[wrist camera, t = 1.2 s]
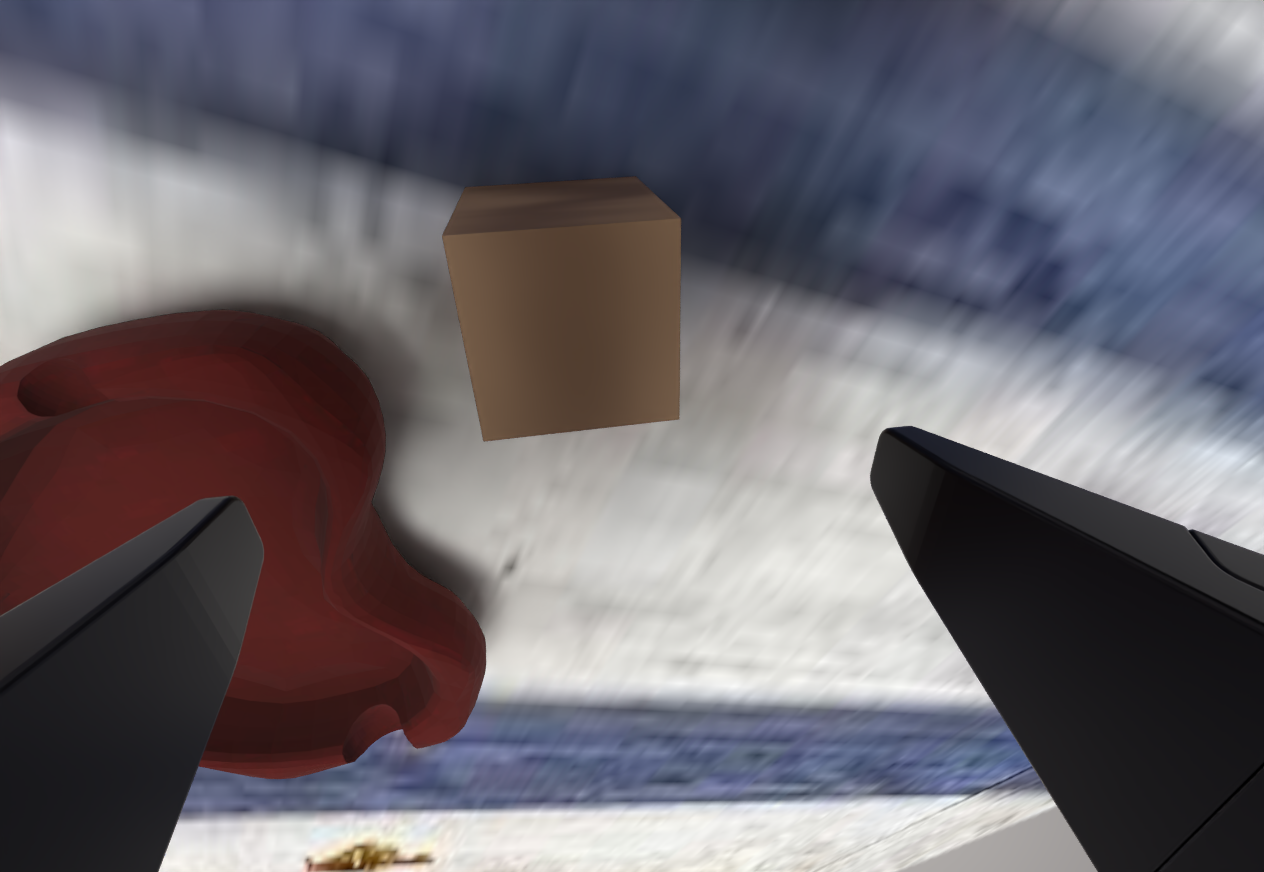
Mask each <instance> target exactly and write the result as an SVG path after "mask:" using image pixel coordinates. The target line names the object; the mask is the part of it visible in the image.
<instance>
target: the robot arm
mask: <svg viewBox="0 0 1264 872" xmlns="http://www.w3.org/2000/svg"><path fill="white" fill-rule="evenodd" d="M870 481H871V486H872V489H873V492H874V494H875V496H876V498H877V500H878V502H879V504H880V506H881V508H882V511H883V513H884V515H885V517H886V519H887V521H888V523H889V525H890V527H891V529H892V531H893V533H894V536H895V538H896V540H897V542H898V544H899V546H900V548H901V550H902V552H903V554H904V556H905V559H906V560H907V562H908V564H909V566H910V568H911V570H912V572H913V574H914V575H915V577H916V579H917V581H918V582H919V584H920V586H921V587H922V589H923V591H924V592H925V594H926V595H927V597H928V599H929V600H930V602H931V603H932V605H933V607H934V608H935V610H936V612H937V613H938V615H939V616H940V618H941V620H942V621H943V623H944V624H945V626H946V628H947V629H948V631H949V633H950V634H951V636H952V637H953V639H954V641H955V642H956V644H957V645H958V647H959V649H960V650H961V652H962V653H963V655H964V657H965V658H966V660H967V662H968V663H969V665H970V666H971V668H972V670H973V671H974V673H975V674H976V676H977V678H978V679H979V681H980V683H981V684H982V686H983V687H984V689H985V691H986V692H987V694H988V695H989V697H990V699H991V700H992V702H993V704H994V705H995V707H996V708H997V710H998V712H999V713H1000V715H1001V716H1002V718H1003V720H1004V721H1005V723H1006V725H1007V726H1008V728H1009V729H1010V731H1011V733H1012V734H1013V736H1014V737H1015V739H1016V741H1017V742H1018V744H1019V745H1020V747H1021V749H1022V750H1023V752H1024V754H1025V755H1026V757H1027V758H1028V760H1029V762H1030V763H1031V765H1032V766H1033V768H1034V770H1035V771H1036V773H1037V775H1038V776H1039V778H1040V779H1041V781H1042V783H1043V784H1044V786H1045V787H1046V789H1047V791H1048V792H1049V794H1050V796H1051V797H1052V799H1053V800H1054V802H1055V804H1056V805H1057V807H1058V808H1059V810H1060V812H1061V813H1062V815H1063V816H1064V818H1065V820H1066V821H1067V823H1068V824H1069V826H1070V828H1071V829H1072V831H1073V832H1074V834H1075V836H1076V837H1077V839H1078V840H1079V842H1080V844H1081V846H1082V847H1083V849H1084V850H1085V852H1086V854H1087V855H1088V857H1089V858H1090V860H1091V862H1092V863H1093V865H1094V867H1095V868H1096V870H1097V871H1098V872H1264V555H1262V554H1260V553H1257V552H1254V551H1251V550H1248V549H1246V548H1243V547H1240V546H1237V545H1234V544H1232V543H1229V542H1226V541H1223V540H1221V539H1218V538H1215V537H1213V536H1210V535H1207V534H1204V533H1202V532H1199V531H1196V530H1187V528H1186V527H1184V526H1182V525H1180V524H1177V523H1174V522H1172V521H1169V520H1166V519H1163V518H1161V517H1158V516H1155V515H1153V514H1150V513H1147V512H1144V511H1142V510H1139V509H1136V508H1134V507H1131V506H1128V505H1125V504H1123V503H1120V502H1117V501H1115V500H1112V499H1109V498H1106V497H1104V496H1101V495H1098V494H1096V493H1093V492H1090V491H1087V490H1085V489H1082V488H1079V487H1077V486H1074V485H1071V484H1068V483H1066V482H1063V481H1060V480H1058V479H1055V478H1052V477H1049V476H1047V475H1044V474H1041V473H1039V472H1036V471H1033V470H1030V469H1028V468H1025V467H1022V466H1020V465H1017V464H1014V463H1011V462H1009V461H1006V460H1003V459H1001V458H998V457H995V456H992V455H990V454H987V453H984V452H982V451H979V450H976V449H973V448H971V447H968V446H965V445H963V444H960V443H957V442H954V441H952V440H949V439H946V438H944V437H941V436H938V435H935V434H933V433H930V432H927V431H925V430H922V429H919V428H916V427H913V426H902V427H893V428H887V429H885V430H884V431H882V433H881V434H880V437H879V440H878V444H877V448H876V452H875V456H874V460H873V464H872V468H871V473H870ZM263 559H264V547H263V543H262V540H261V538H260V536H259V534H258V532H257V529H256V527H255V525H254V523H253V521H252V519H251V517H250V514H249V512H248V510H247V508H246V506H245V504H244V503H243V501H242V500H241V499H240V498H238V497H236V496H221V497H211V498H204V499H200V500H198V501H196V502H194V503H193V504H191V505H189V506H188V507H186V508H184V509H182V510H181V511H179V512H177V513H176V514H174V515H172V516H170V517H169V518H167V519H165V520H164V521H162V522H160V523H159V524H157V525H155V526H153V527H152V528H150V529H148V530H147V531H145V532H143V533H141V534H140V535H138V536H136V537H135V538H133V539H131V540H129V541H128V542H126V543H124V544H123V545H121V546H119V547H117V548H116V549H114V550H112V551H111V552H109V553H107V554H105V555H104V556H102V557H100V558H99V559H97V560H95V561H93V562H92V563H90V564H88V565H87V566H85V567H83V568H82V569H80V570H78V571H76V572H75V573H73V574H71V575H70V576H68V577H66V578H64V579H63V580H61V581H59V582H58V583H56V584H54V585H52V586H51V587H49V588H47V589H46V590H44V591H42V592H40V593H39V594H37V595H35V596H34V597H32V598H30V599H28V600H27V601H25V602H23V603H22V604H20V605H18V606H17V607H15V608H13V609H11V610H10V611H8V612H6V613H5V614H3V615H1V616H0V872H158V871H159V869H160V866H161V864H162V861H163V858H164V856H165V853H166V850H167V848H168V845H169V842H170V840H171V837H172V834H173V832H174V829H175V827H176V824H177V821H178V819H179V816H180V813H181V811H182V808H183V805H184V803H185V800H186V798H187V795H188V792H189V790H190V787H191V784H192V782H193V779H194V776H195V774H196V771H197V769H198V766H199V763H200V761H201V758H202V755H203V753H204V750H205V747H206V745H207V742H208V740H209V737H210V734H211V732H212V729H213V726H214V724H215V721H216V718H217V716H218V713H219V711H220V708H221V705H222V703H223V700H224V697H225V695H226V692H227V689H228V687H229V684H230V682H231V679H232V676H233V673H234V670H235V667H236V664H237V661H238V658H239V654H240V651H241V647H242V644H243V640H244V636H245V632H246V628H247V624H248V620H249V616H250V612H251V608H252V604H253V600H254V596H255V592H256V588H257V584H258V580H259V576H260V572H261V568H262V564H263Z"/></svg>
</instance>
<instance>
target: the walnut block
mask: <svg viewBox="0 0 1264 872" xmlns="http://www.w3.org/2000/svg"><path fill="white" fill-rule="evenodd" d="M442 238H443V243H444V248H445V253H446V258H447V263H448V268H449V273H450V278H451V283H452V288H453V293H454V298H455V303H456V307H457V312H458V317H459V322H460V327H461V332H462V337H463V342H464V347H465V352H466V357H467V362H468V367H469V372H470V377H471V382H472V387H473V392H474V397H475V401H476V406H477V411H478V416H479V421H480V426H481V431H482V436H483V441H492V440H501V439H510V438H519V437H528V436H536V435H545V434H554V433H563V432H572V431H581V430H589V429H598V428H607V427H616V426H625V425H634V424H642V423H651V422H660V421H669V420H678V419H679V398H680V281H681V218H680V217H679V216H678V215H677V214H676V213H675V212H674V211H672V210H671V209H670V208H669V207H668V206H667V205H666V204H665V203H664V202H663V201H662V200H661V199H660V198H658V197H657V196H656V195H655V194H654V193H653V192H652V191H651V190H650V189H649V188H648V187H647V186H646V185H644V184H643V183H642V182H641V181H640V180H639V179H638V178H637V177H636V176H633V177H617V178H602V179H586V180H571V181H555V182H539V183H524V184H508V185H492V186H477V187H465V189H464V191H463V193H462V195H461V197H460V199H459V201H458V203H457V206H456V208H455V210H454V212H453V214H452V216H451V218H450V220H449V222H448V224H447V226H446V229H445V231H444V233H443V235H442Z"/></svg>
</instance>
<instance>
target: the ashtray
mask: <svg viewBox="0 0 1264 872" xmlns="http://www.w3.org/2000/svg"><path fill="white" fill-rule="evenodd" d="M385 447H386V433H385V427H384V420H383V416H382V412H381V408H380V404H379V401H378V399H377V396H376V394H375V392H374V390H373V387H372V385H371V383H370V381H369V379H368V377H367V376H366V375H365V373H364V372H363V371H362V370H361V369H360V368H359V366H358V365H357V364H356V363H355V362H353V361H352V360H351V359H350V358H349V357H348V356H347V355H346V354H345V353H344V352H343V351H342V350H341V349H340V348H339V347H338V346H337V345H336V344H335V343H334V342H333V341H331V340H330V339H329V338H327V337H326V336H325V335H323V334H322V333H321V332H319V331H317V330H315V329H312V328H309V327H307V326H304V325H302V324H298V323H294V322H290V321H286V320H282V319H278V318H274V317H269V316H265V315H261V314H256V313H252V312H242V311H233V310H209V311H197V312H185V313H174V314H168V315H162V316H156V317H150V318H144V319H138V320H133V321H128V322H123V323H118V324H114V325H109V326H104V327H99V328H95V329H92V330H88V331H85V332H81V333H78V334H74V335H71V336H67V337H63V338H61V339H59V340H57V341H54V342H52V343H50V344H48V345H45V346H43V347H41V348H39V349H36V350H34V351H32V352H29V353H27V354H25V355H22V356H20V357H18V358H16V359H13V360H11V361H9V362H7V363H5V364H4V365H2V366H0V616H1V615H3V614H5V613H6V612H8V611H10V610H11V609H13V608H15V607H17V606H18V605H20V604H22V603H23V602H25V601H27V600H28V599H30V598H32V597H34V596H35V595H37V594H39V593H40V592H42V591H44V590H46V589H47V588H49V587H51V586H52V585H54V584H56V583H58V582H59V581H61V580H63V579H64V578H66V577H68V576H70V575H71V574H73V573H75V572H76V571H78V570H80V569H82V568H83V567H85V566H87V565H88V564H90V563H92V562H93V561H95V560H97V559H99V558H100V557H102V556H104V555H105V554H107V553H109V552H111V551H112V550H114V549H116V548H117V547H119V546H121V545H123V544H124V543H126V542H128V541H129V540H131V539H133V538H135V537H136V536H138V535H140V534H141V533H143V532H145V531H147V530H148V529H150V528H152V527H153V526H155V525H157V524H159V523H160V522H162V521H164V520H165V519H167V518H169V517H170V516H172V515H174V514H176V513H177V512H179V511H181V510H182V509H184V508H186V507H188V506H189V505H191V504H193V503H194V502H196V501H198V500H200V499H204V498H211V497H221V496H236V497H238V498H240V499H241V500H242V501H243V503H244V504H245V506H246V508H247V510H248V512H249V514H250V517H251V519H252V521H253V523H254V525H255V527H256V529H257V532H258V534H259V536H260V538H261V540H262V543H263V547H264V559H263V564H262V568H261V572H260V576H259V580H258V584H257V588H256V592H255V596H254V600H253V604H252V608H251V612H250V616H249V620H248V624H247V628H246V632H245V636H244V640H243V644H242V647H241V651H240V654H239V658H238V661H237V664H236V667H235V670H234V673H233V676H232V679H231V682H230V684H229V687H228V689H227V692H226V695H225V697H224V700H223V703H222V705H221V708H220V711H219V713H218V716H217V718H216V721H215V724H214V726H213V729H212V732H211V734H210V737H209V740H208V742H207V745H206V747H205V750H204V753H203V755H202V758H201V761H200V763H199V766H200V767H205V768H210V769H215V770H220V771H225V772H230V773H235V774H240V775H246V776H251V777H259V778H266V779H287V778H296V777H300V776H304V775H308V774H312V773H316V772H319V771H323V770H326V769H330V768H333V767H337V766H341V765H344V764H348V763H351V762H355V760H356V759H357V758H358V757H359V756H360V755H362V754H363V753H364V752H365V751H366V750H367V748H368V747H369V746H370V745H371V744H373V743H374V742H375V741H376V740H378V739H379V738H381V737H382V736H384V735H386V734H388V733H390V732H393V731H396V730H400V729H403V731H404V734H405V735H406V737H407V739H408V740H409V741H410V742H411V743H412V745H413V746H414V747H415V748H417V749H418V748H423V747H427V746H431V745H435V744H438V743H442V742H445V741H447V740H448V739H450V738H452V737H453V736H455V735H456V734H457V733H459V731H460V730H461V729H462V728H463V727H464V726H465V724H466V722H467V719H468V717H469V715H470V714H471V712H472V710H473V708H474V706H475V703H476V700H477V697H478V694H479V691H480V688H481V685H482V682H483V678H484V675H485V669H486V642H485V637H484V635H483V633H482V630H481V628H480V626H479V624H478V622H477V621H476V619H475V617H474V616H473V614H472V613H471V612H470V611H469V610H468V609H467V607H466V606H465V605H464V604H463V602H462V601H461V600H460V598H458V597H457V596H456V595H455V594H454V593H453V592H452V591H450V590H449V589H447V588H445V587H443V586H441V585H439V584H438V583H436V582H434V581H432V580H430V579H428V578H426V577H425V576H423V575H421V574H420V573H419V572H417V571H416V570H415V569H414V568H412V567H411V566H410V565H408V563H407V562H406V561H405V560H404V558H403V557H402V556H401V554H400V553H399V552H398V551H397V549H396V548H395V547H394V546H393V544H392V542H391V540H390V538H389V536H388V534H387V532H386V530H385V528H384V526H383V524H382V522H381V520H380V518H379V516H378V514H377V512H376V510H375V508H374V506H373V505H372V503H371V502H372V499H373V496H374V493H375V491H376V488H377V485H378V482H379V478H380V475H381V471H382V467H383V462H384V457H385Z"/></svg>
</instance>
